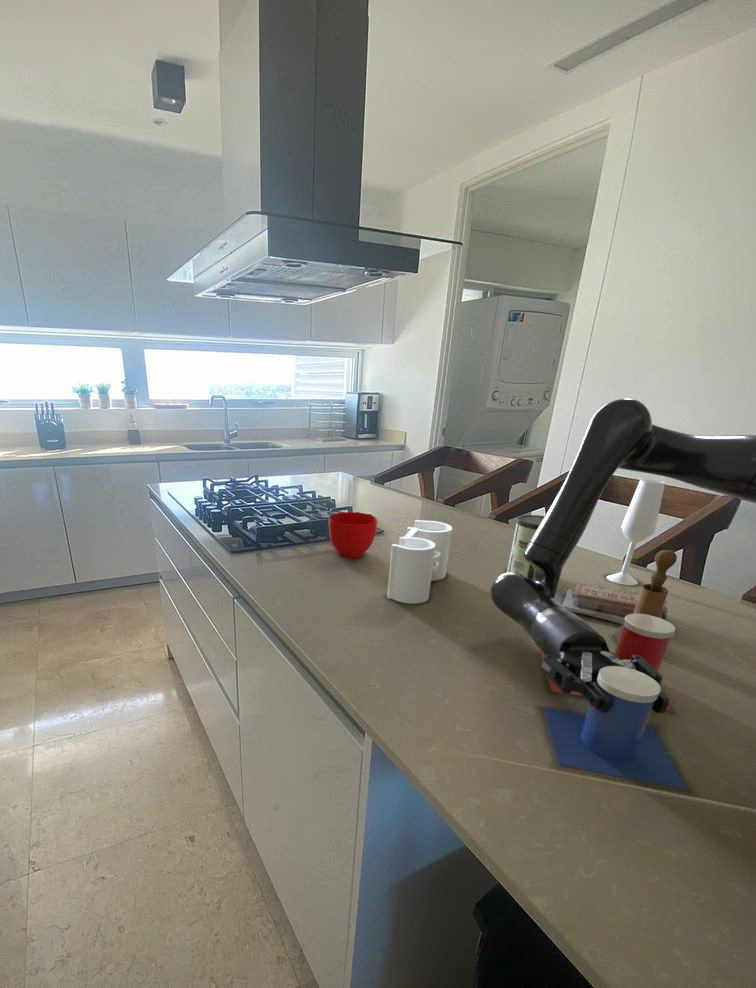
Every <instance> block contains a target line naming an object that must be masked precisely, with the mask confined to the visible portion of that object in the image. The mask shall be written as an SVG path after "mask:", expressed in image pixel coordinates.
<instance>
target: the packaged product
mask: <svg viewBox="0 0 756 988" xmlns="http://www.w3.org/2000/svg"><path fill="white" fill-rule="evenodd" d="M639 595H640V592H634V591H628V590H625V589H624V590H623V589H618V588H613V587H609V586H603V585H598V584H592V583H587V582H580V581H579V582H576V583H575V586H574V589H571V588H568V589H567V592H566V594H565V598H564V600H563V603H562V605H563V606H564V607H565V608H566V609H567V610H569V611H570V612H572V613H574V614H580V615H584V616H590V617H593V618H597V619H601V620H605V621H610V622H613V623H616V624H619V625H623V621H624V618H625V616H626V615H628V614H633V613H634V610H635V607H636V604H637V601H638V598H639ZM668 613H669V610H668V607H667V599H665V602H664V605H663V608H662V610H661V613H660V616H659V618H661V619H663V620H666V621H667V617H668Z"/></svg>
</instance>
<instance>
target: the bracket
mask: <svg viewBox="0 0 756 988" xmlns="http://www.w3.org/2000/svg"><path fill="white" fill-rule="evenodd" d="M452 535H453V527H452V525H450V524H448V523H445V522H443V521H442V522H441V521H436V520H435V521H434V520H421V519H415V520H414V526H407V529H406V534H405V535H404V536H399V543H397V544H395V543H391V551H390V563H389V571H388V573H389V574H388V583H387V595H386V598H387V599H389V600H390V599H391V600H394V601H396V602H399V603H404V604H411V605H413V604H415V605H416V604H421V603H425V602H427V601H428V600H429V598H430V591H431V583H432V582H435V581H440V580H442V579H445V577H446V575H447V568H448V561H449V554H450V547H451V541H452V540H451V539H452Z"/></svg>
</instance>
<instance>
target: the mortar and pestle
mask: <svg viewBox="0 0 756 988" xmlns="http://www.w3.org/2000/svg"><path fill="white" fill-rule="evenodd" d="M677 559H678V556H677V554H676V552H674V551H673V550H669V549H661V550H660V551H658V552H657V553H656V554H655V556H654V563H655V566H656V570H655V572H653V573H651V576H650V583H643V585H641V589H640V592H639V594H640V595H639V598H638V601H637V604H636V607H635V610H634V613H633V614H646V615H651V616H655V617H658V618H659V616H660V613H661V610H662V608H663V605H664V602H665V600H667V597H668V595H669V589H668V588H667V587H665V586H663V585H664V584H665V582H666V581H667V579H668V576H667V572H668V570H669V569H670V568H671V567H673V566H674V565H675V564H676V562H677ZM622 627H623V624H621V625H620V626H619V628H618V631H617V634H616V636H615V638H616V640H617V641H618V639H619V636H620V633H621V630H622Z"/></svg>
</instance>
